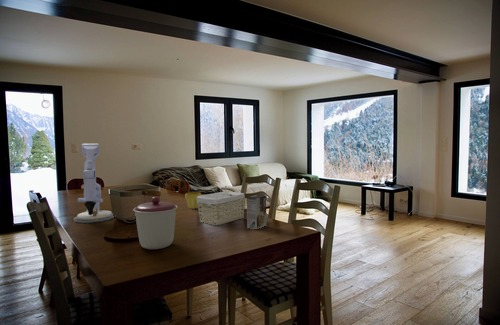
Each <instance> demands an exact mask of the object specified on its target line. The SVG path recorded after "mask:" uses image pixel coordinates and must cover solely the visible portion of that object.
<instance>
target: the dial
mask: <svg viewBox="0 0 500 325" xmlns="http://www.w3.org/2000/svg"><path fill="white" fill-rule="evenodd" d="M111 215H112V211H110V210H106V209H105V210H103V209H102V210H99V211H98V210H97V208H94V209H93V214H92V215H89V214H88V212H86V211H83V212H81V213H78V214H77V216H76V217H78V219H80V220H95V219H102V218H107V217H110V216H111Z"/></svg>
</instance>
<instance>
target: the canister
mask: <svg viewBox="0 0 500 325" xmlns="http://www.w3.org/2000/svg"><path fill="white" fill-rule="evenodd" d="M150 201H151V202H145V203H143V202H142V204H140V205H138V206H137V207H135V208H134V209H133V211H134V212H135V216H136V220H135V222H136V228H137V234H138V236H137V237H138V240H139V245H141V247H142V248H143V249H146V250H159V249H160V250H161V249H165V248H167V247H169V246H171V245H172V244H173V241H174V237H175V228H176V215H177V209H178V208H179V207H178V205H176V204H175V203H174V202H169V201H161V199H160V197H159V196H153V197H151V199H150Z"/></svg>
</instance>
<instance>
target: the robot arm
mask: <svg viewBox="0 0 500 325" xmlns="http://www.w3.org/2000/svg"><path fill="white" fill-rule="evenodd" d="M81 154H82V157H84V158H86V160H85V161H84V163H83V164H84V165H83V167H84V169H83V171H82V179H83V185H84V186H83V197H78V198H77V202H78V203H82V202H83V204H84V206H85V207H86V211H85V212H88V214H89V215H92V214H93V209H94V208H97V210H98V211H99V210H100V203H103V202H104V198H102V189H101V188H102V186H101V184H99V183H97V170H96V159H97V157H99V156H100V144H99V143H82V144H81Z"/></svg>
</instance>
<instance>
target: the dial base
mask: <svg viewBox="0 0 500 325" xmlns="http://www.w3.org/2000/svg"><path fill="white" fill-rule="evenodd" d="M113 214H114V213H112V215H111V216H110V217H107V218H102V219H95V220H80V219H78V217H77V216H75V217H73V222H74V223H76V224H95V223H103V222H108V221H111V220H113V219H115V218H114V216H113Z"/></svg>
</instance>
